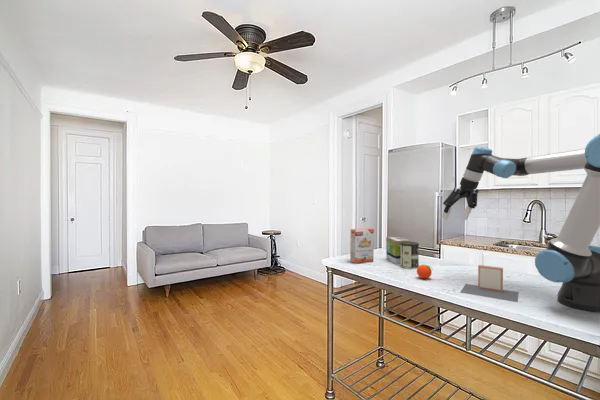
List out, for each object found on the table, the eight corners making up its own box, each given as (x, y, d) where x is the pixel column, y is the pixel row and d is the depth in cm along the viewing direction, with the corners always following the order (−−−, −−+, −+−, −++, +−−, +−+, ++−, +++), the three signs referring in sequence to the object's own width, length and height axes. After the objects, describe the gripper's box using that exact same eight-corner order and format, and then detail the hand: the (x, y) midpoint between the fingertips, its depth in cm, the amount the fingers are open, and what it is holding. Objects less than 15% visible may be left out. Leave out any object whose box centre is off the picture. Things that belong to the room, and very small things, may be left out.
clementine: (435, 278, 151) (435, 264, 151) (431, 281, 146) (431, 267, 146) (419, 275, 156) (419, 262, 156) (414, 278, 151) (414, 264, 151)
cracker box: (355, 264, 184) (355, 229, 183) (349, 262, 189) (349, 228, 189) (374, 261, 189) (374, 228, 189) (368, 260, 195) (368, 227, 194)
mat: (518, 293, 128) (518, 292, 128) (517, 303, 116) (517, 302, 116) (465, 284, 140) (465, 283, 140) (459, 293, 128) (459, 292, 128)
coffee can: (417, 265, 179) (417, 241, 179) (420, 269, 169) (420, 244, 169) (399, 264, 181) (399, 241, 181) (401, 268, 171) (401, 244, 171)
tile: (502, 290, 130) (502, 267, 130) (502, 292, 128) (502, 268, 128) (478, 287, 135) (478, 264, 135) (478, 288, 133) (478, 265, 133)
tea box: (385, 259, 196) (385, 236, 196) (400, 258, 197) (400, 236, 197) (395, 264, 181) (395, 240, 181) (411, 264, 182) (411, 239, 182)
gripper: (482, 177, 151) (466, 215, 159) (445, 174, 142) (430, 214, 150) (495, 183, 145) (478, 222, 153) (457, 180, 135) (441, 222, 143)
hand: (454, 218), depth 151 cm, fingers open, 13 cm apart
